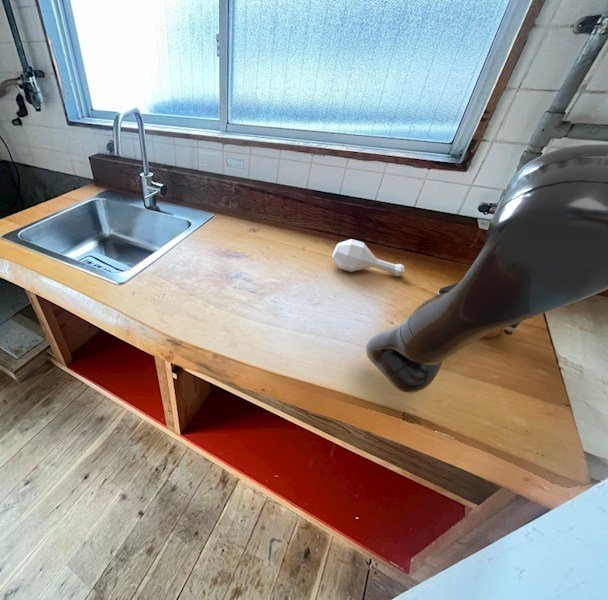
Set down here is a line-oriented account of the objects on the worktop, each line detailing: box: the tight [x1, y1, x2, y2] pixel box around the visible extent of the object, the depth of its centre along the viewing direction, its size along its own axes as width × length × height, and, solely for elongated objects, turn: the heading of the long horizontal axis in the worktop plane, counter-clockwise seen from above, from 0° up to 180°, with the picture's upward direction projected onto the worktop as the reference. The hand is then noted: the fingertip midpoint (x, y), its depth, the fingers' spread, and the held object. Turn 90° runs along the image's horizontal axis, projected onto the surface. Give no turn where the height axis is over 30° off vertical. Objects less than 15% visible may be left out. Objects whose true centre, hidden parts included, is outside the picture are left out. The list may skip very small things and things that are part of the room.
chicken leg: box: [331, 238, 406, 278], centre depth 86 cm, size 8×18×8 cm, turn 70°
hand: (497, 293), depth 66 cm, fingers open, 5 cm apart
